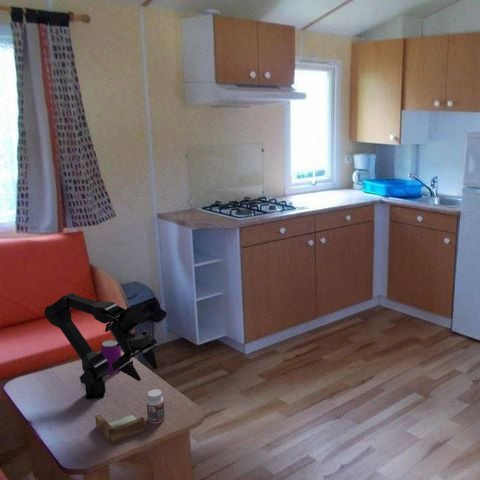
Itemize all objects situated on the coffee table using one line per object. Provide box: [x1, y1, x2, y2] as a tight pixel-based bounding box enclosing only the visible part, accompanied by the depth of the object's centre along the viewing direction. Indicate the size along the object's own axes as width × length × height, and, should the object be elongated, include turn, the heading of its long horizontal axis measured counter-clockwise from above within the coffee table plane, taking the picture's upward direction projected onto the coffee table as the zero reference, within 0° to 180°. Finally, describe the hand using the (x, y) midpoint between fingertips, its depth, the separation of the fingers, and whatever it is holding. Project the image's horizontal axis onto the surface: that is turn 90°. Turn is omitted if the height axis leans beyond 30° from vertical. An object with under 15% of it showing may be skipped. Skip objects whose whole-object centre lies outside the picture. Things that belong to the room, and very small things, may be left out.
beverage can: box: [100, 339, 122, 375], centre depth 210 cm, size 8×8×12 cm
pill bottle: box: [146, 389, 166, 425], centre depth 176 cm, size 6×6×10 cm
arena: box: [94, 414, 146, 445], centre depth 172 cm, size 12×12×4 cm
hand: (148, 374), depth 179 cm, fingers open, 9 cm apart
